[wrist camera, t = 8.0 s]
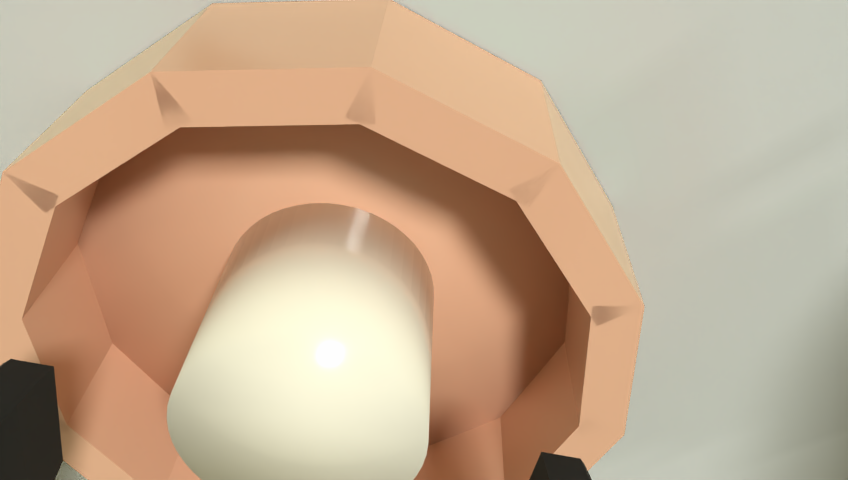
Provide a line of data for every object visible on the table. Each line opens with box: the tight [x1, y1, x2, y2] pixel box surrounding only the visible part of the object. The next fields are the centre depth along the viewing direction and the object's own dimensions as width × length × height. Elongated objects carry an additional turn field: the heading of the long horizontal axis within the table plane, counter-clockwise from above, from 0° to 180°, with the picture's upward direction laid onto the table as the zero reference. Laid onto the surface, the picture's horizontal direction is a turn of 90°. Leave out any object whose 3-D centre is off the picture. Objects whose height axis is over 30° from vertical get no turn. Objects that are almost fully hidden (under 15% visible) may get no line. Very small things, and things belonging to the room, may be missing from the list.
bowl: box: [0, 0, 644, 480], centre depth 14 cm, size 11×11×3 cm
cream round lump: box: [167, 203, 434, 480], centre depth 13 cm, size 4×4×4 cm
